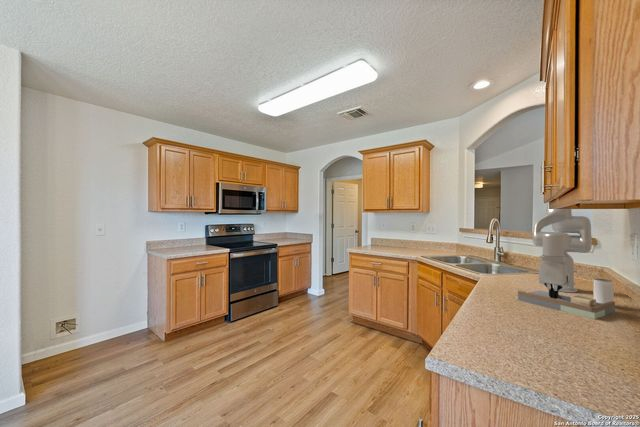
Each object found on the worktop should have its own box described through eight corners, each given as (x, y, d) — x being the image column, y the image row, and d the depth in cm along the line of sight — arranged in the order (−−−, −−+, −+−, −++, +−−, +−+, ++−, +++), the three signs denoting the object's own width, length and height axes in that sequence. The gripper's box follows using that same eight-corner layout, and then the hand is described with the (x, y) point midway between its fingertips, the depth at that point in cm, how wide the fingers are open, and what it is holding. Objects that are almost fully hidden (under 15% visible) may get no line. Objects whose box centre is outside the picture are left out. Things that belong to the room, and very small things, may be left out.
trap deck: (539, 295, 140) (539, 286, 141) (614, 311, 115) (614, 301, 115) (517, 299, 132) (517, 290, 132) (594, 319, 107) (594, 308, 107)
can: (604, 303, 127) (604, 278, 127) (618, 307, 121) (617, 281, 121) (589, 302, 128) (589, 278, 128) (602, 307, 121) (602, 281, 122)
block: (577, 304, 117) (577, 295, 117) (596, 308, 112) (596, 299, 112) (570, 306, 115) (570, 297, 115) (589, 310, 109) (589, 301, 109)
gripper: (530, 257, 129) (530, 295, 128) (570, 262, 115) (570, 304, 115) (538, 256, 132) (538, 293, 132) (577, 261, 119) (578, 302, 118)
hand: (553, 298), depth 123 cm, fingers closed
